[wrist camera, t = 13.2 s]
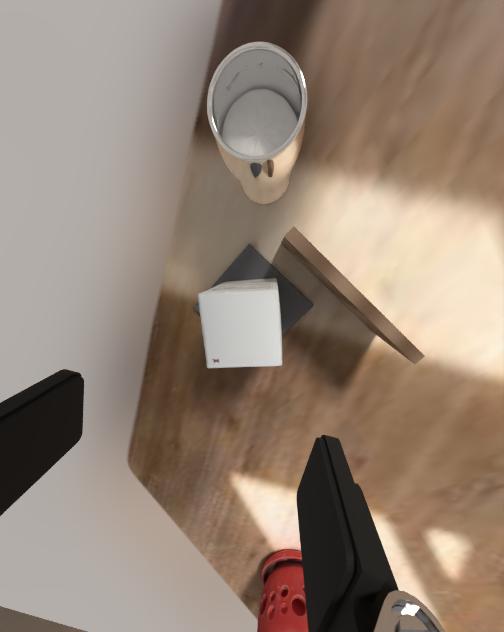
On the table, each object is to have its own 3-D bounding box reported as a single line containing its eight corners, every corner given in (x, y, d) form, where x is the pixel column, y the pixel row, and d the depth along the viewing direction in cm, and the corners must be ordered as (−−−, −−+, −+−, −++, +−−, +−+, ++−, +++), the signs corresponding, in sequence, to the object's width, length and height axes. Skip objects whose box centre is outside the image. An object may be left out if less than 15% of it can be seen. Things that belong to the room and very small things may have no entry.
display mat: (194, 307, 35) (193, 308, 34) (249, 244, 32) (249, 244, 31) (254, 360, 36) (254, 362, 35) (312, 304, 33) (313, 305, 33)
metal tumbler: (249, 216, 31) (227, 182, 17) (229, 161, 30) (186, 70, 15) (300, 194, 30) (325, 136, 15) (282, 136, 29) (290, 12, 14)
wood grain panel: (281, 242, 31) (284, 236, 22) (287, 235, 31) (293, 226, 22) (374, 332, 33) (414, 364, 24) (380, 327, 33) (424, 356, 23)
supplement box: (280, 328, 34) (283, 369, 22) (228, 330, 35) (204, 370, 22) (278, 276, 32) (280, 288, 20) (224, 279, 33) (194, 293, 21)
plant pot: (275, 594, 48) (275, 702, 36) (249, 548, 46) (241, 647, 34) (338, 584, 46) (360, 695, 34) (315, 535, 43) (330, 636, 32)
